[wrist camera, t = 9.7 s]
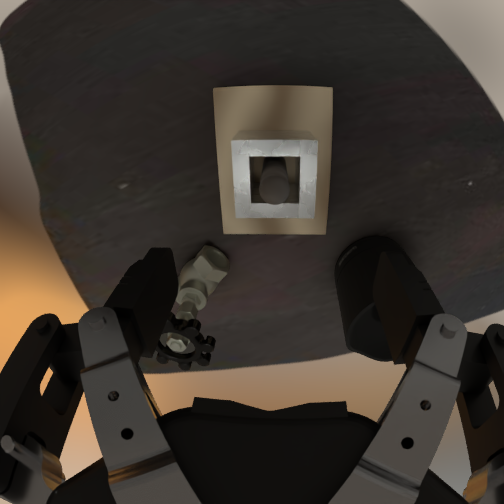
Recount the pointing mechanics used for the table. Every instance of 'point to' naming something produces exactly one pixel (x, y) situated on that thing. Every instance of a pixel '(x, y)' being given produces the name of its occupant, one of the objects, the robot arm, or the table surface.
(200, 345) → the valve
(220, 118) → the shaft stand
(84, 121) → the table surface
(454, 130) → the table surface
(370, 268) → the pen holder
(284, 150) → the block
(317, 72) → the table surface
